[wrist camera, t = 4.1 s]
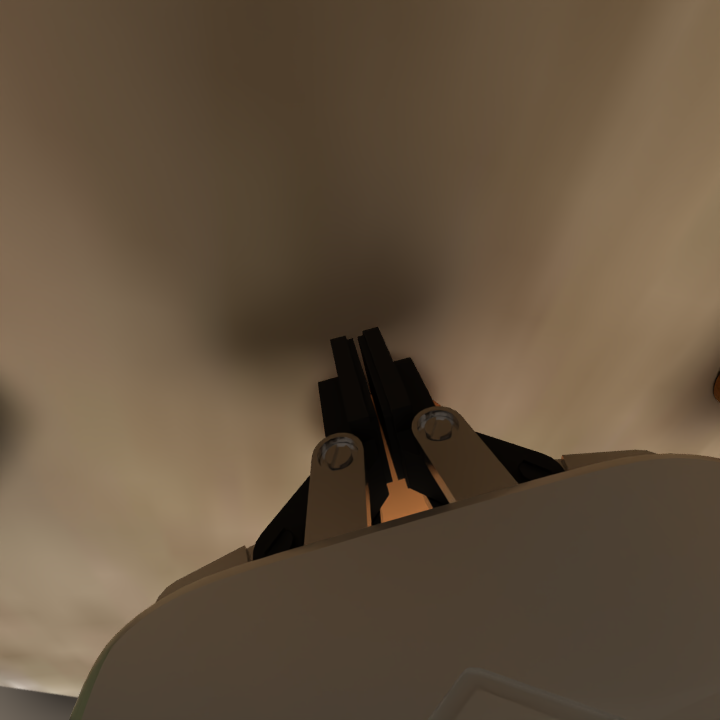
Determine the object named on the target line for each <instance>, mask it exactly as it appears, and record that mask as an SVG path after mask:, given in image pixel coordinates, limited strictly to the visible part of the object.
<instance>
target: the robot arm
mask: <svg viewBox="0 0 720 720" xmlns="http://www.w3.org/2000/svg"><path fill="white" fill-rule="evenodd" d="M330 341H331V346H332V350H333V355H334V360H335V364H336V369H337V373H338V377H336V378H332V379H328V380H325V381H321V382H318V387H319V394H320V401H321V408H322V415H323V422H324V429H325V436H326V438H324V439H323V440H322V441H320V442H319V443H318V444H317V446H316V447H315V449H314V450H313V454H312V460H311V471H310V476H309V477H308V478H307V479H306V481H305V482H304V483H303V484H302V485H301V487H300V488H299V489H298V490H297V491H296V493H295V494H294V495H293V496H292V497H291V499H290V500H289V501H288V502H287V503H286V505H285V506H284V507H283V508H282V509H281V511H280V512H279V513H278V514H277V516H276V517H275V518H274V519H273V520H272V522H271V523H270V524H269V525H268V526H267V528H266V529H265V530H264V531H263V532H262V534H261V535H260V537H259V538H258V540H257V541H256V544H255V545H253V546H251V547H249V548H246V547H245V545H244V546H242V547H240V548H238V549H237V550H235V551H233V552H231V553H229V554H227V555H225V556H223V557H221V558H219V559H217V560H215V561H213V562H212V563H210V564H208V565H206V566H204V567H202V568H200V569H198V570H196V571H194V572H192V573H190V574H188V575H187V576H185V577H183V578H181V579H179V580H177V581H175V582H174V583H172V584H171V585H170V586H168V587H167V588H166V589H165V590H164V591H163V592H162V594H161V595H160V596H159V597H158V599H157V601H156V603H155V604H153V605H152V606H150V607H149V608H147V609H146V610H144V611H143V612H142V613H140V614H139V615H137V616H136V617H135V618H134V619H133V620H131V621H130V622H129V623H128V624H126V625H125V626H124V627H123V628H122V629H121V630H120V631H119V632H118V633H117V634H116V635H115V636H114V637H113V638H112V639H111V640H110V642H109V643H108V644H107V645H106V646H105V648H104V649H103V651H102V652H101V654H100V655H99V657H98V658H97V660H96V662H95V663H94V665H93V667H92V669H91V671H90V672H89V674H88V677H87V679H86V681H85V683H84V685H83V687H82V689H81V692H80V694H79V697H78V700H77V701H76V704H75V706H74V709H73V711H72V714H71V716H70V718H69V720H720V459H719V458H714V457H709V456H701V455H691V454H672V453H669V454H656V453H653V452H650V451H647V450H625V451H611V452H597V453H583V454H569V455H562V458H561V459H555V460H554V459H553V458H551V457H549V456H547V455H545V454H542V453H539V452H536V451H533V450H530V449H527V448H524V447H521V446H518V445H515V444H512V443H509V442H506V441H502V440H499V439H496V438H493V437H490V436H487V435H484V434H481V433H478V432H475V431H474V430H473V429H472V428H471V426H470V425H469V424H468V423H467V422H466V421H465V419H464V418H463V417H462V416H461V415H460V414H459V413H458V412H457V411H455V410H453V409H451V408H448V407H443V406H435V404H434V402H433V400H432V398H431V396H430V394H429V392H428V390H427V388H426V386H425V384H424V382H423V380H422V379H421V377H420V375H419V373H418V371H417V369H416V367H415V365H414V363H413V361H412V359H411V358H410V357H409V358H405V359H401V360H398V361H394V362H393V360H392V358H391V355H390V353H389V351H388V348H387V346H386V344H385V342H384V339H383V337H382V335H381V332H380V330H379V328H378V327H376V328H372V329H368V330H365V331H363V335H362V336H359V337H358V341H359V345H360V349H361V353H362V358H363V362H364V366H365V370H366V374H367V378H368V382H369V386H370V390H371V394H372V398H373V401H372V398H371V395H370V392H369V388H368V385H367V382H366V379H365V376H364V372H363V369H362V366H361V363H360V360H359V357H358V353H357V350H356V347H355V344H354V341H353V338H351V339H346V336H342V337H339V338H335V339H331V340H330ZM373 402H374V404H373ZM374 405H375V408H376V411H377V415H378V418H379V421H380V424H381V427H382V430H383V434H384V437H385V440H386V443H387V446H388V449H389V453H390V456H391V459H392V462H393V465H394V468H395V472H396V475H397V478H398V480H401V479H405V481H406V484H407V487H408V489H409V488H410V489H412V490H414V491H416V492H419V493H421V494H423V497H424V500H425V503H426V504H427V506H428V508H429V510H425V511H422V512H418V513H415V514H411V515H408V516H404V517H401V518H397V519H394V520H390V521H387V522H383V513H382V509H381V507H382V505H383V504H384V502H385V501H386V499H387V498H388V496H389V491H388V487H387V483H391V482H393V480H392V476H391V471H390V467H389V463H388V459H387V455H386V451H385V447H384V443H383V439H382V435H381V430H380V426H379V422H378V418H377V415H376V411H375V408H374Z"/></svg>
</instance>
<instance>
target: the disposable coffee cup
mask: <svg viewBox="0 0 720 720" xmlns="http://www.w3.org/2000/svg"><path fill="white" fill-rule="evenodd" d="M714 395H715V398H716V399H717V400H718V401H719V402H720V374H719V376H718V378H717V380H716V383H715V386H714Z"/></svg>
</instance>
